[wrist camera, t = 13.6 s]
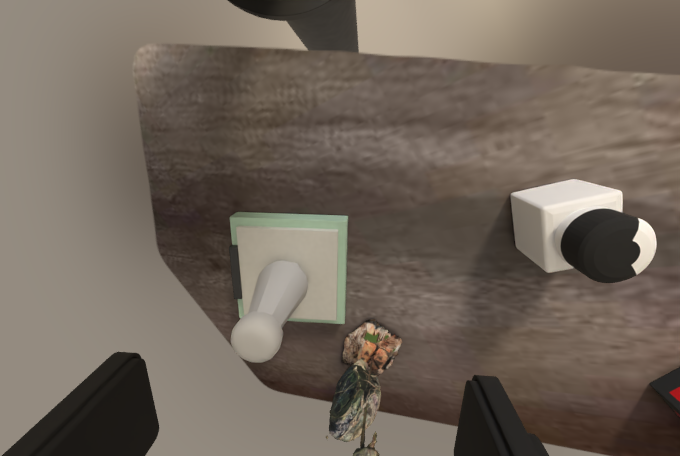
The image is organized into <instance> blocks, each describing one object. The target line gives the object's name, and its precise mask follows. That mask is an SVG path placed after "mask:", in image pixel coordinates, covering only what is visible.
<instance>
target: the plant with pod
mask: <svg viewBox="0 0 680 456" xmlns="http://www.w3.org/2000/svg"><path fill="white" fill-rule="evenodd" d="M377 323H378V322H375V320H368V321H366V322H365V323H364V324H362V325H361V326H360V327H358V329H356V330H355V331H354V332H352V334H349V336H350V337H348V336H347V337H346V339H345V340H346V341H344V342H345V343H344V346H345V349H344V352H342V353H343V356H344V357H342V358H343V360H342V361H343V362H345V363H347V364H351V365H352V366H351V367H349V369H347V371H346V372H345V373H344V375H343V376H342V377H341V379H340V380H339V381H338V384H337V387H336V391H335V395H334V397H333V403H332V407H331V410H330V425H329V431H330V434H331V435H332V436H333V437H334V438H335V439H337V440H342V441H344V442H349V441H352V440H354V439H355V438H357V437H359V436H360V435H361V442H360V446H361V448H357V449H356V450H355V452H354V453H353V456H379V453H378V452H377V451H376V450H375V448H374V445H375V443H376V442H377V441H376V437H377V433H376V432H375V433H374V435H373V441H372V442H371V443H370V444H369V445H368V446H367V447H364V441H365V430H366V429H367V428H368V427H369V426H370V425H371V424H372V422H373V421H374V419H375V416H376V411H378V408H379V403H380V397H381V392H380V385H379V380H378V378H377V376H378V375H380V374H381V373H382V372H383V370H385V369H387V368H389V366H391V365H392V363H393V359H395V358H394V357H395V356H396V355H398V352H397V350H398V349H399V347H398V346H400V344H401V343H402V341H401V339H400V338H399V339H398V336H395V334H394V335H393V336H391V332H390V333H388V330H384V328H385V327H382V326H381V325H380V326H379V324H378V325H377ZM326 438H327V439H328V436H326Z"/></svg>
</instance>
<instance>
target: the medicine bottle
mask: <svg viewBox="0 0 680 456" xmlns="http://www.w3.org/2000/svg"><path fill="white" fill-rule="evenodd" d="M510 197H511V207H512V216H513V226H514V236H515V245H516V248H517V249H518V250H520V251H521V252H522V253H523V254H524V255H526V256H527V257H528V258H529V259H531V260H532V261H533V262H534V263H536V264H537V265H538V266H539V267H541V268H542V269H543V270H544V271H546V272H548V273H551V272H556V271H561V270H567V269H572V268H576V269H577V270H579V271H580V272H581V273H583V274H584V275H586V276H587V277H589V278H590V279H592V280H595V281H598V282H602V283H615V282H620V281H624V280H627V279H629V278H632V277H634V276H636V275H637V274H639V273H640V272H641V271H643V270H644V269H645V268H646V267H647V266H648V265H649V263H650V262H651V260H652V259H653V257H654V254H655V251H656V236H655V233H654V231H653V229H652V227H651V226H650V225H649V224H648V223H647V222H645V221H644V220H642V219H639V218H637V217H634V216H631V215H628V214H625V213H622V192H621V191H620V190H616V189H612V188H608V187H604V186H600V185H596V184H592V183H589V182H585V181H581V180H577V179H571V180H567V181H562V182H558V183H553V184H549V185H544V186H540V187H536V188H531V189H527V190H522V191H518V192H514V193H511V195H510Z"/></svg>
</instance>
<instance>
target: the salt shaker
mask: <svg viewBox="0 0 680 456" xmlns="http://www.w3.org/2000/svg"><path fill="white" fill-rule="evenodd" d="M307 289H308V281H307V278H306V275H305V273H304V272H303V271H302V270H301V268H300V267H299V265H298V263H293V262H288V261H284V260H281V261H276V262H274V263H271V264H269V265H267V266H266V267H265V268H264V269H263V270H262V272H261V273H260V274H259V276H258V280H257V283H256V287H255V291H254V294H253V298H252V301H251V305H250V308H249V312H248V314H246V315H244V316H242V318H241V319H240V320H239V321H238V323H237V324H236V325H235V326H234V328H233V330H232V334H231V344H232V347H233V349H234V351H235V352H236V353H237V354H238V355H239V356H240V357H241V358H243V359H245V360H247V361H250V362H265V361H267V360H270V359H272V357H273V356H274V355H275V354H276V353H277V351H278V350H279V348H280V346H281V343H282V337H283V330H282V327H283V326H284V325H285V323H286V322H287V320H288V319H289V318H290V316H291V315H292V313H293V312H294V311H295V309H296V308H297V307H298V305H299V304H300V303H301V302H302V300H303V299H304V298H305V296H306V294H307Z"/></svg>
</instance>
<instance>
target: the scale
mask: <svg viewBox="0 0 680 456" xmlns="http://www.w3.org/2000/svg"><path fill="white" fill-rule="evenodd" d="M230 226H231V236H232V245H231V246H230V247H229V253H230V262H231V272H232V282H233V292H234V299H238V308H239V318H242V316H244V315H246V314H248V312H249V308H250V305H251V301H252V298H253V294H254V291H255V287H256V283H257V280H258V276H259V274H260V273H261V272H262V270H263V269H264V268H265V267H266V266H267V265H269V264H271V263H274V262H276V261H281V260H284V261H288V262H293V263H298V265H299V267H300V268H301V270H302V271H303V272H304V273H305V275H306V278H307V281H308V289H307V294H306V296H305V298H304V299H303V300H302V302H301V303H300V304H299V305H298V307H297V308H296V309H295V311H294V312H293V313H292V315H291V316H290V318H289V319H288V320H287V321H299V322H316V323H334V324H345V314H346V276H347V237H348V216H339V215H311V214H282V213H254V212H236V213H235V214H233V215H232V216H231V217H230Z"/></svg>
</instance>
